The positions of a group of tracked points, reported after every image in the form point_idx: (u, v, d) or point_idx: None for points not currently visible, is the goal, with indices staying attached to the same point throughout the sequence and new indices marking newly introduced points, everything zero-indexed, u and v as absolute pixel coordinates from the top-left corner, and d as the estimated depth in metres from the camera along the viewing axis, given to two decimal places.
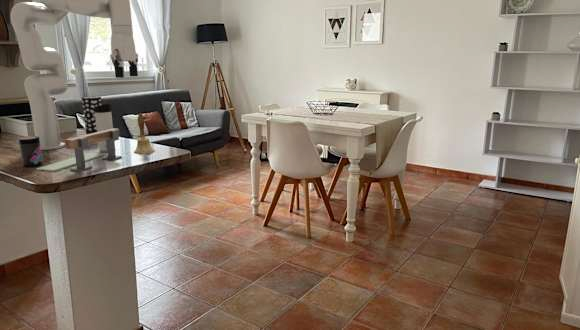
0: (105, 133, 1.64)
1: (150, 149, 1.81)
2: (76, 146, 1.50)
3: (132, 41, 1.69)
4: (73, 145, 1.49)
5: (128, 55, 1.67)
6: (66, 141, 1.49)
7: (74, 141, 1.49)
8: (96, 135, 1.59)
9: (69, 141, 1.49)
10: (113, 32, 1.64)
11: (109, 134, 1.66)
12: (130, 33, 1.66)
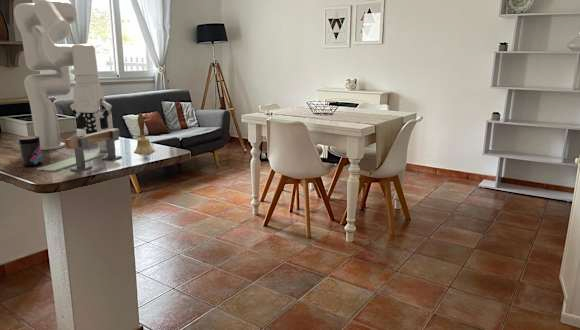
0: (105, 133, 1.64)
1: (150, 149, 1.81)
2: (76, 146, 1.50)
3: None
4: (73, 145, 1.49)
5: None
6: (66, 141, 1.49)
7: (74, 141, 1.49)
8: (96, 135, 1.59)
9: (69, 141, 1.49)
10: (91, 82, 1.53)
11: (109, 134, 1.66)
12: None
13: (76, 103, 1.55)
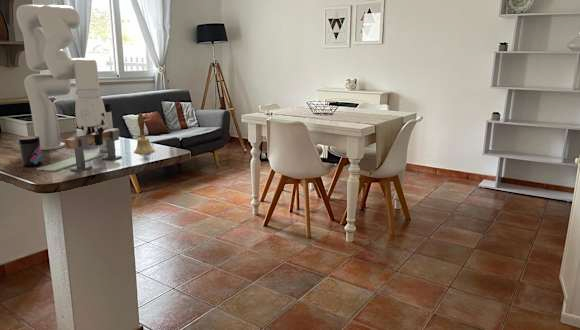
0: (105, 133, 1.64)
1: (150, 149, 1.81)
2: (76, 146, 1.50)
3: None
4: (73, 145, 1.49)
5: None
6: (66, 141, 1.49)
7: (74, 141, 1.49)
8: None
9: (69, 141, 1.49)
10: (93, 96, 1.54)
11: (109, 134, 1.66)
12: None
13: (77, 117, 1.57)
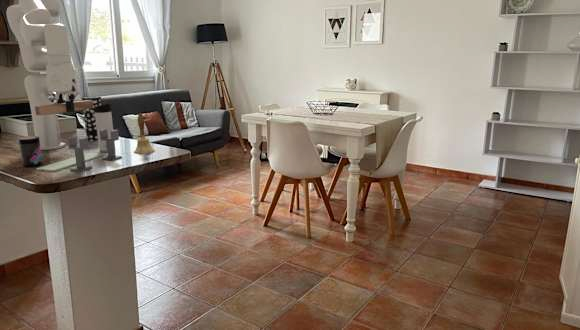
0: (77, 103, 1.64)
1: (150, 149, 1.81)
2: (46, 113, 1.51)
3: None
4: (43, 112, 1.50)
5: None
6: (36, 108, 1.50)
7: (44, 108, 1.50)
8: None
9: (39, 107, 1.49)
10: (63, 62, 1.54)
11: (82, 105, 1.66)
12: None
13: (48, 83, 1.57)
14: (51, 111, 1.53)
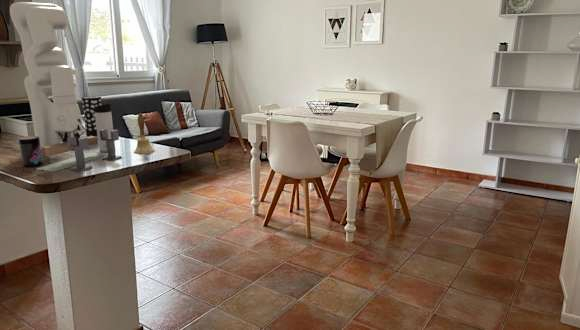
0: None
1: (150, 149, 1.81)
2: (52, 153, 1.54)
3: None
4: (49, 153, 1.53)
5: None
6: (42, 149, 1.53)
7: (50, 149, 1.53)
8: None
9: (45, 149, 1.53)
10: (69, 102, 1.58)
11: None
12: None
13: (54, 122, 1.61)
14: (57, 151, 1.56)
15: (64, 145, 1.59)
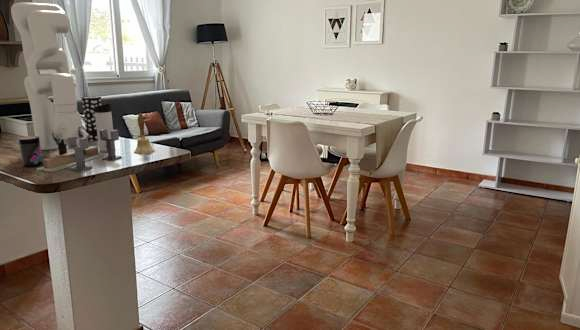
0: None
1: (150, 149, 1.81)
2: (54, 166, 1.56)
3: None
4: (51, 165, 1.55)
5: None
6: (44, 161, 1.54)
7: (52, 161, 1.55)
8: (74, 154, 1.64)
9: (47, 161, 1.54)
10: (70, 111, 1.59)
11: (88, 152, 1.71)
12: None
13: (55, 130, 1.61)
14: (58, 164, 1.58)
15: (65, 157, 1.60)
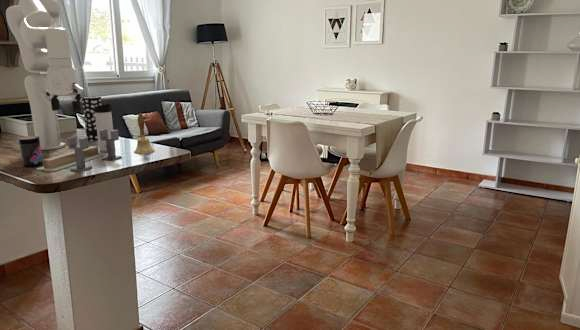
0: (84, 152, 1.69)
1: (150, 149, 1.81)
2: (54, 166, 1.56)
3: None
4: (51, 165, 1.55)
5: None
6: (44, 161, 1.54)
7: (52, 161, 1.55)
8: (74, 154, 1.64)
9: (47, 161, 1.54)
10: (64, 65, 1.56)
11: (88, 152, 1.71)
12: None
13: (49, 86, 1.59)
14: (58, 164, 1.58)
15: (65, 157, 1.60)
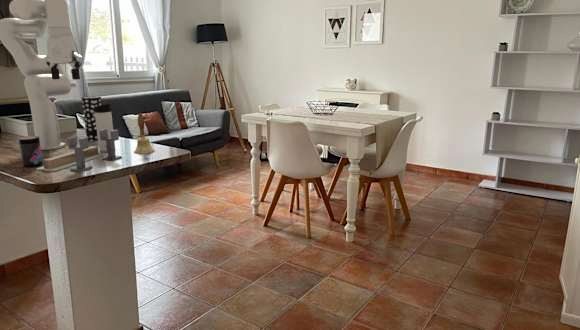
0: (84, 152, 1.69)
1: (150, 149, 1.81)
2: (54, 166, 1.56)
3: None
4: (51, 165, 1.55)
5: None
6: (44, 161, 1.54)
7: (52, 161, 1.55)
8: (74, 154, 1.64)
9: (47, 161, 1.54)
10: (63, 34, 1.62)
11: (88, 152, 1.71)
12: None
13: (49, 54, 1.65)
14: (58, 164, 1.58)
15: (65, 157, 1.60)
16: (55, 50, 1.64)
